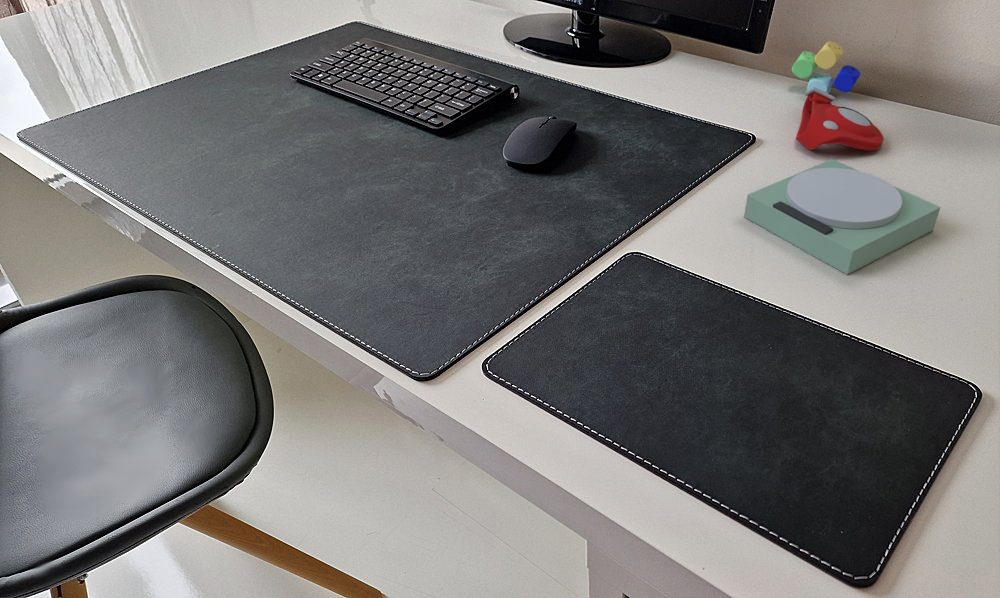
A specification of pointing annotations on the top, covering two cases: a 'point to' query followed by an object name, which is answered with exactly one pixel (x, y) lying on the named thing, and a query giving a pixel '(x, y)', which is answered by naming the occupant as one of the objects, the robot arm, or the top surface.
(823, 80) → the dice
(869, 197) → the scale
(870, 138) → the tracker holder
